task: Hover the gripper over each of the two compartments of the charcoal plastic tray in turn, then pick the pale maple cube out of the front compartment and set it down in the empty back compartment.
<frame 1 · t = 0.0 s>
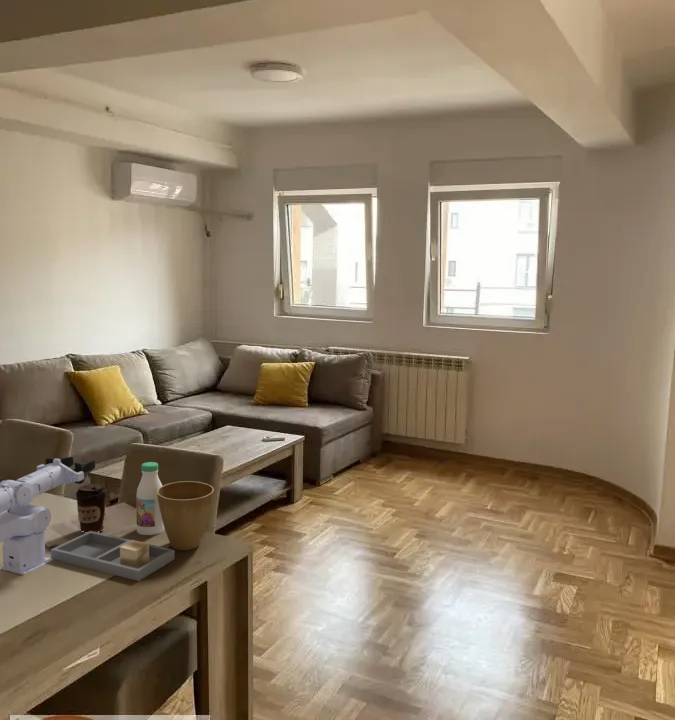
hand: (83, 462, 191), 22 cm above the table, tool horizontal, fingers open, 7 cm apart
plant pot: (185, 547, 190), on the table
milk bottle: (150, 532, 200), on the table
maple cube: (134, 564, 177), resting on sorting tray
coffee cup: (92, 531, 199), on the table
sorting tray: (113, 560, 180), on the table
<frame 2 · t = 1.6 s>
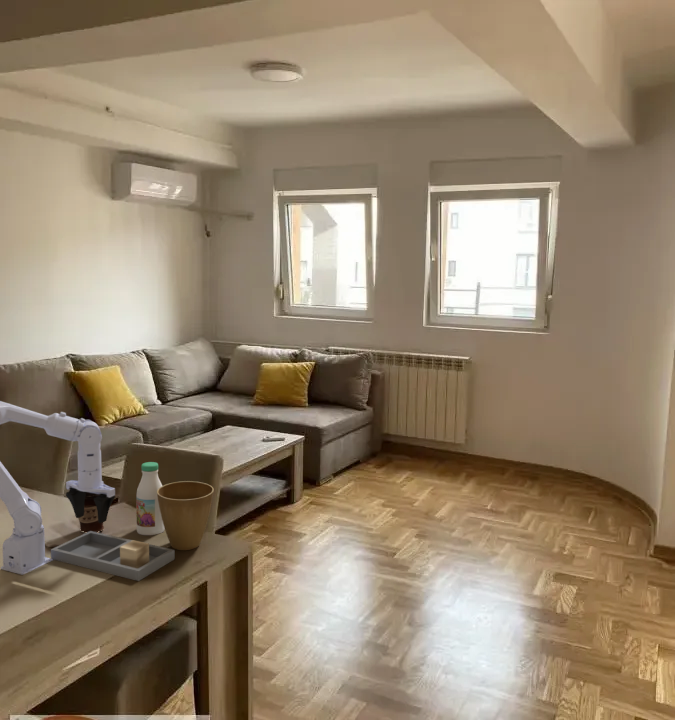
hand: (91, 519, 181), 10 cm above the table, tool pointing down, fingers open, 7 cm apart
nothing on the table moved.
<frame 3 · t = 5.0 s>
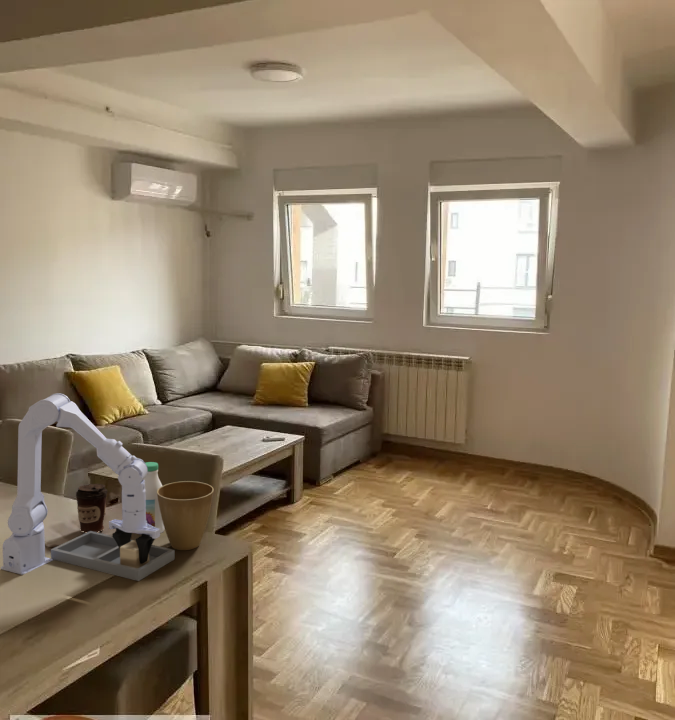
hand: (134, 560, 177), 2 cm above the table, tool pointing down, fingers closed on maple cube, 5 cm apart
maple cube: (134, 564, 177), resting on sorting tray, touching gripper
everything else where it was.
when the fingers open (3 cm above the table, at t = 9.0 s): maple cube drops 1 cm, resting on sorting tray.
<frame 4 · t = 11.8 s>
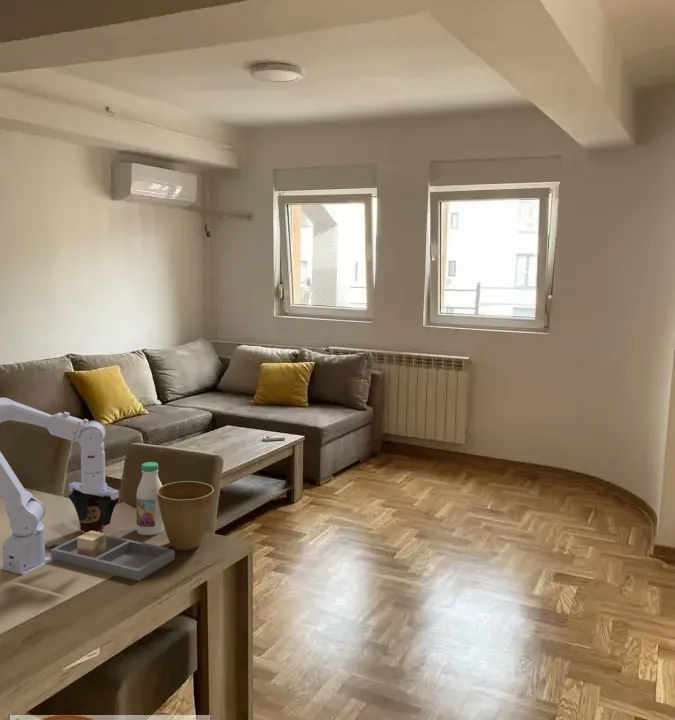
hand: (94, 521, 178), 10 cm above the table, tool pointing down, fingers open, 7 cm apart
maple cube: (92, 553, 183), resting on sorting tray
everything else where it was.
at the end: maple cube inside the target area on the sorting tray (0.0 cm from its centre), point 0.5 cm above the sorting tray's base; maple cube tilted 0°; the gripper is holding nothing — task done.
